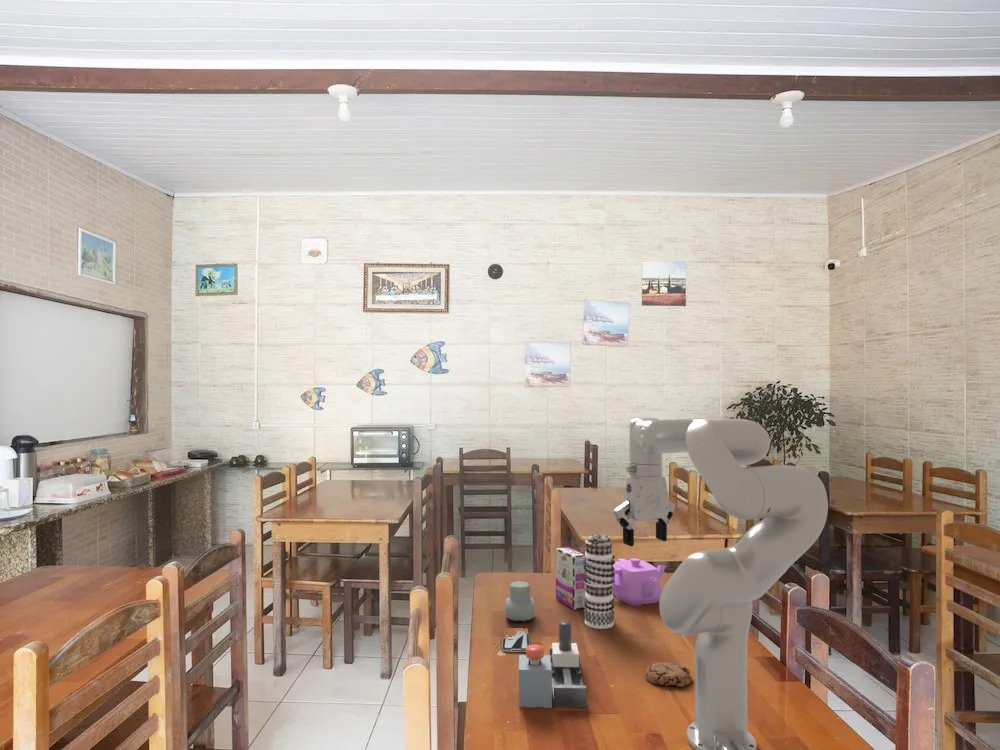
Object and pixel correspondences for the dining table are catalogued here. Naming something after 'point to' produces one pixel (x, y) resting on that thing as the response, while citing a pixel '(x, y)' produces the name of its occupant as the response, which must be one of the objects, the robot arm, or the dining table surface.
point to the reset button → (534, 653)
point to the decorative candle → (599, 582)
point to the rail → (568, 687)
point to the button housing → (535, 682)
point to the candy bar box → (570, 577)
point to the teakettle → (637, 581)
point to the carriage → (565, 649)
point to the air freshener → (519, 602)
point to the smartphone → (516, 642)
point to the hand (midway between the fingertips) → (645, 542)
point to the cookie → (668, 674)
